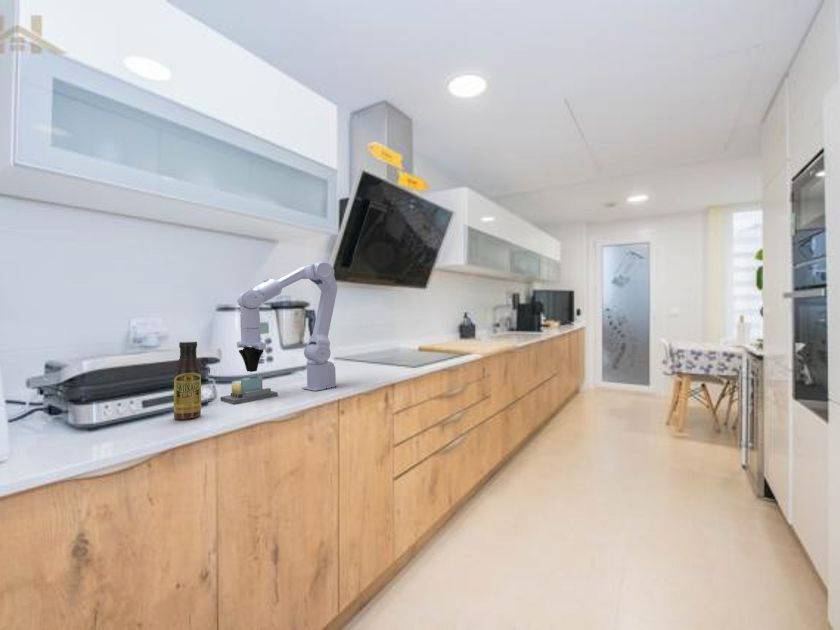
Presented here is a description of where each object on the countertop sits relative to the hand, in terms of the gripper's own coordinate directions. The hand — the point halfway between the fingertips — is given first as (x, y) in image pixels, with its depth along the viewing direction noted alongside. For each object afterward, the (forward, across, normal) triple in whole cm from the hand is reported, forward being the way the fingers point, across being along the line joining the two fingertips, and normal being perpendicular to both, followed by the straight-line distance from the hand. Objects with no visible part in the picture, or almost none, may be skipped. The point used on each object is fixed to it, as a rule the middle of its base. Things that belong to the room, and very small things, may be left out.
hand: (251, 371), depth 126 cm
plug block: (+7, 0, 0) cm, 7 cm away
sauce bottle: (+9, +8, -22) cm, 25 cm away
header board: (+8, 0, -1) cm, 8 cm away
